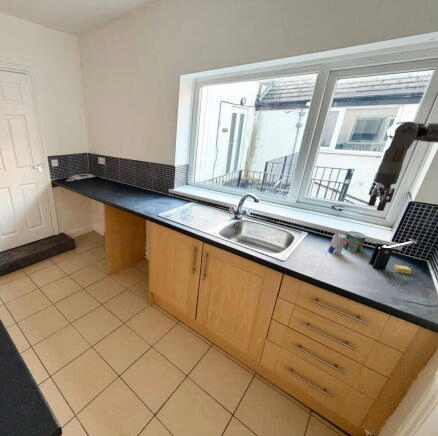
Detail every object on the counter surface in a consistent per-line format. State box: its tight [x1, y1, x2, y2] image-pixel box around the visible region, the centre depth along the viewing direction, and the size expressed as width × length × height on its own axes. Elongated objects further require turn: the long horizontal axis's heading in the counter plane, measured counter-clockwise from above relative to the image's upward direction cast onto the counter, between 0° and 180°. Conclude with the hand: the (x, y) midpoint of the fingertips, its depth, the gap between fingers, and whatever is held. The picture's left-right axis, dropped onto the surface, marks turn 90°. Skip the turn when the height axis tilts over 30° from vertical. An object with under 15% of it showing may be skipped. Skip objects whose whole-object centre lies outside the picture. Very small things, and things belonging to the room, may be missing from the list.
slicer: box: [368, 242, 394, 274], centre depth 116 cm, size 10×8×13 cm
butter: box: [392, 264, 413, 275], centre depth 115 cm, size 5×4×3 cm
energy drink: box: [327, 232, 347, 256], centre depth 129 cm, size 5×5×12 cm
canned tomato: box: [342, 230, 367, 253], centre depth 133 cm, size 8×8×11 cm
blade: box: [378, 237, 421, 250], centre depth 112 cm, size 13×5×2 cm, turn 69°
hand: (375, 207), depth 109 cm, fingers open, 8 cm apart
